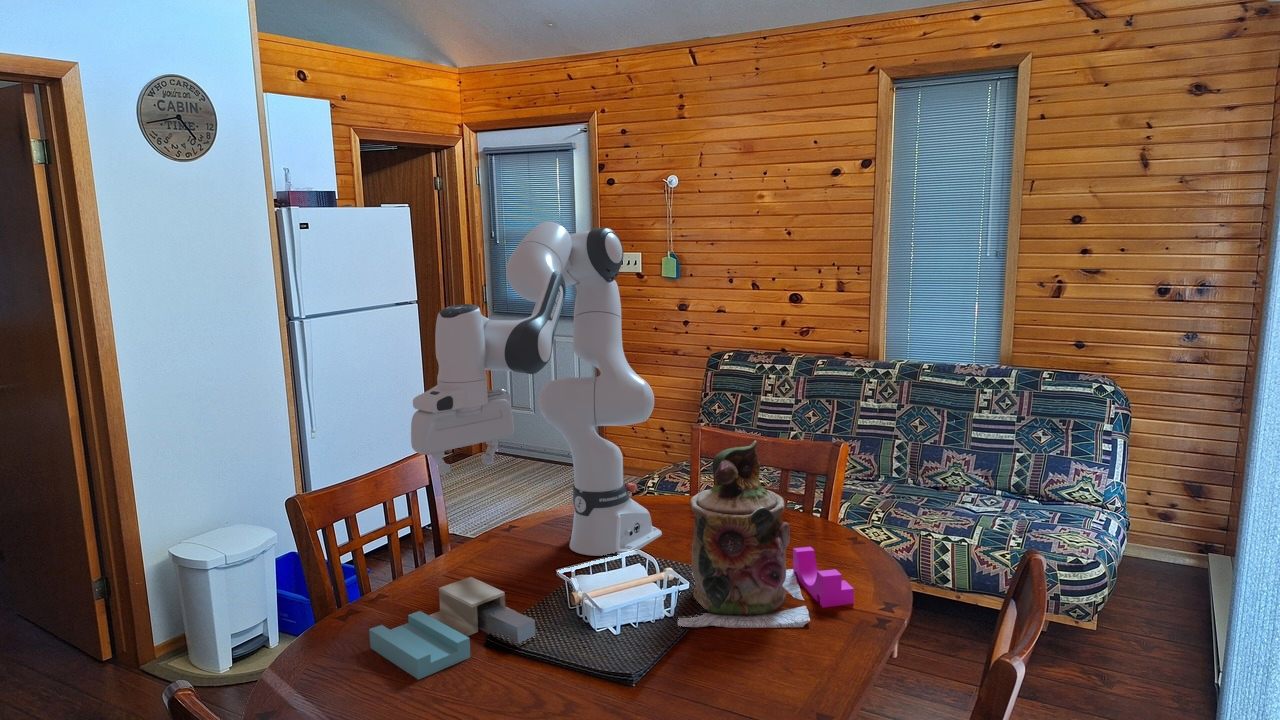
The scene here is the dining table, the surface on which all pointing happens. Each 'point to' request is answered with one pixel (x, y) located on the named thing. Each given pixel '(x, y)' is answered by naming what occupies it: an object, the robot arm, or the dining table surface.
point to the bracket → (465, 604)
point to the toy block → (821, 580)
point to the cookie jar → (741, 550)
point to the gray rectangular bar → (505, 622)
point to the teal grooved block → (420, 645)
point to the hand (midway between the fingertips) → (466, 468)
